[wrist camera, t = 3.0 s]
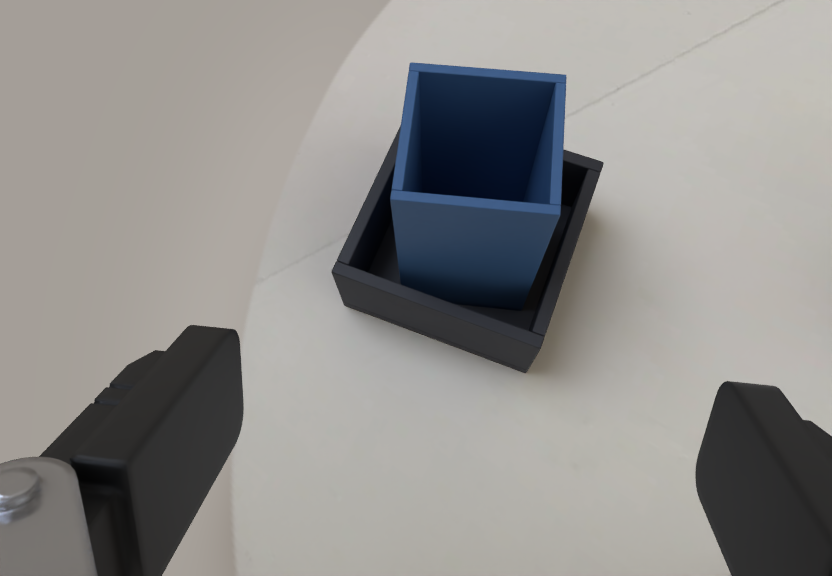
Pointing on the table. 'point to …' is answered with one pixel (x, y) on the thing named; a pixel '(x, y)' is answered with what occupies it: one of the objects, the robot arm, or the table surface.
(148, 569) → the robot arm
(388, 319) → the black bin
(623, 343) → the table surface
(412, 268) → the blue bin
